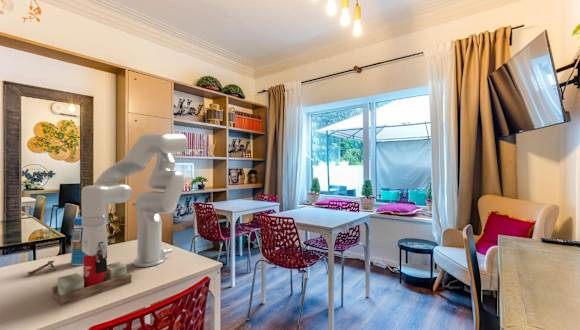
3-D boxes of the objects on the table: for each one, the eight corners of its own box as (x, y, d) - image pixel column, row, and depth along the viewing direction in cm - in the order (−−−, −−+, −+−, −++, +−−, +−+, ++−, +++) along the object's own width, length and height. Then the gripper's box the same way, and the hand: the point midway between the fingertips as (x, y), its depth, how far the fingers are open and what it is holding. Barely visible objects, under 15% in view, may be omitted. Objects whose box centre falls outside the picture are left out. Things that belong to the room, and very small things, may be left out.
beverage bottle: (67, 262, 114) (68, 217, 114) (91, 257, 121) (91, 214, 121) (73, 267, 109) (74, 220, 109) (97, 262, 116) (98, 217, 116)
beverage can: (91, 281, 95) (91, 248, 94) (109, 281, 95) (109, 248, 95) (78, 290, 88) (79, 254, 88) (98, 289, 89) (98, 254, 89)
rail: (119, 275, 103) (119, 260, 103) (131, 282, 97) (131, 266, 97) (52, 295, 86) (52, 277, 86) (61, 305, 80) (61, 286, 80)
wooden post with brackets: (59, 268, 106) (53, 259, 105) (33, 282, 101) (27, 272, 100) (58, 267, 107) (52, 258, 106) (33, 280, 102) (27, 271, 101)
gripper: (73, 219, 94) (74, 266, 94) (91, 226, 84) (92, 279, 84) (98, 215, 100) (98, 259, 100) (117, 222, 90) (118, 271, 90)
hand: (95, 268), depth 92 cm, fingers open, 9 cm apart
